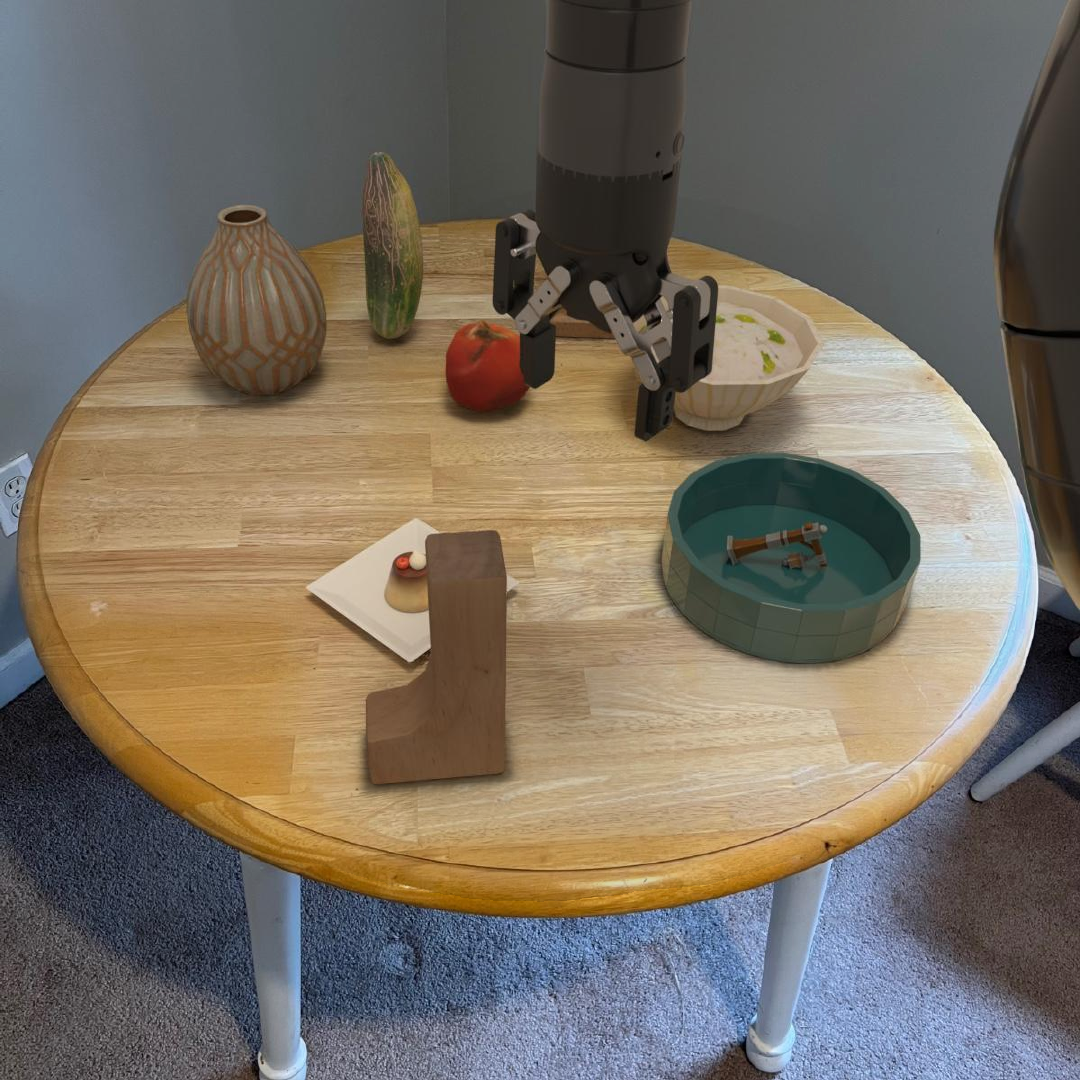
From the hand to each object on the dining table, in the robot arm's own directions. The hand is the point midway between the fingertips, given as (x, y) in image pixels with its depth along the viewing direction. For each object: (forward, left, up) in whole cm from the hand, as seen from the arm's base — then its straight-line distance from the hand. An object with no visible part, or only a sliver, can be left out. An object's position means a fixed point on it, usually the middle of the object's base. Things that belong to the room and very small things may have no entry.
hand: (592, 407), depth 67 cm
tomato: (+37, -6, -23) cm, 44 cm away
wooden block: (-4, +12, -23) cm, 26 cm away
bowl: (+28, -26, -23) cm, 44 cm away
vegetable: (+52, -1, -23) cm, 57 cm away
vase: (+48, +14, -23) cm, 55 cm away
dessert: (+12, +9, -23) cm, 27 cm away
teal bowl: (+4, -20, -23) cm, 31 cm away
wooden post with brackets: (+5, -20, -23) cm, 31 cm away
